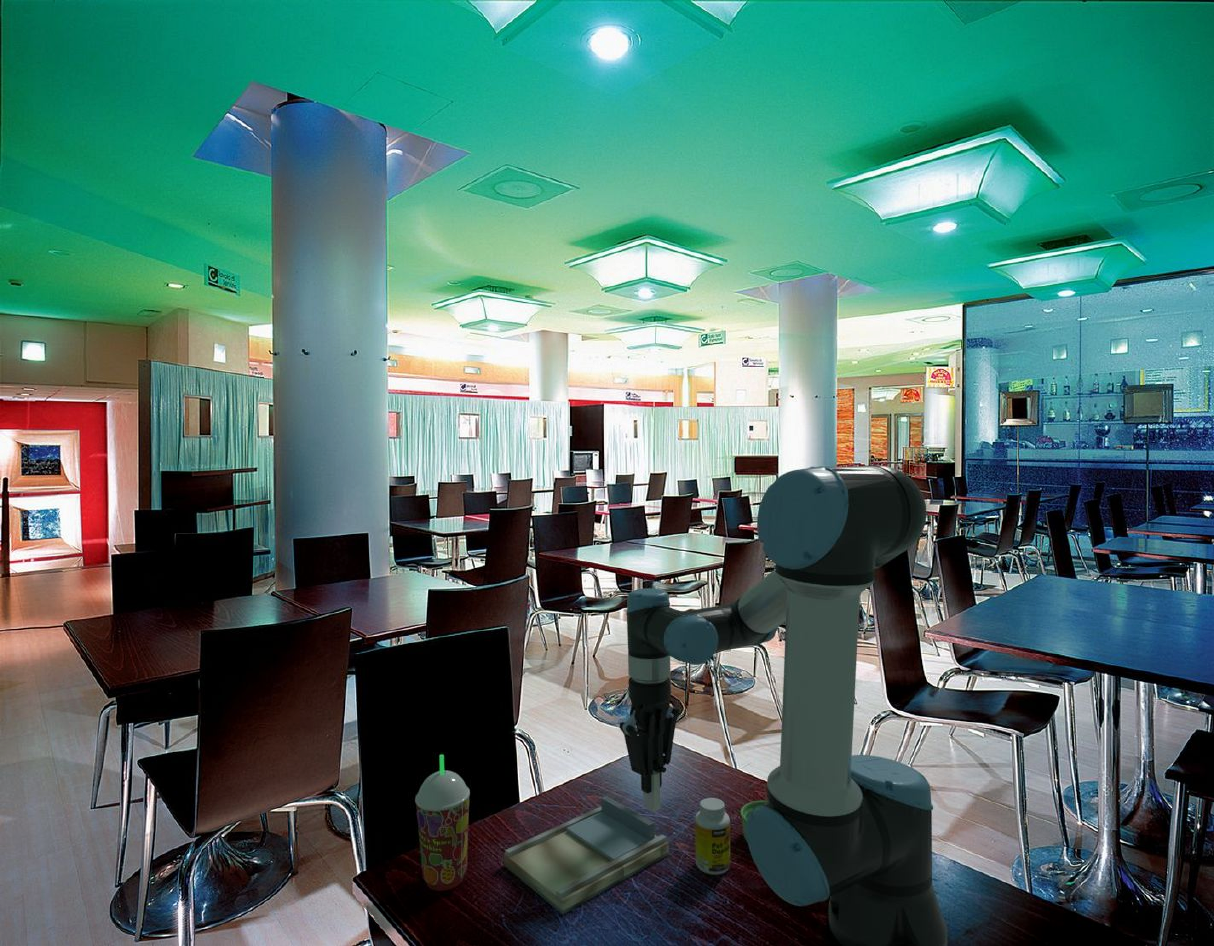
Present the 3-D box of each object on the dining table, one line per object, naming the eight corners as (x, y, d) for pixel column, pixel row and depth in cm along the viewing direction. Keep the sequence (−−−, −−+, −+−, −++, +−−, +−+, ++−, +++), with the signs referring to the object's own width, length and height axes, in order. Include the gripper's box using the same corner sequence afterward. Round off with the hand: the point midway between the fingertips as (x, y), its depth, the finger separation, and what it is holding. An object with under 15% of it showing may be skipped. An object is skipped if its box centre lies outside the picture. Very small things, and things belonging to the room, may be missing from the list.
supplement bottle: (712, 880, 106) (710, 816, 106) (688, 863, 111) (687, 801, 111) (738, 868, 110) (737, 805, 109) (714, 851, 114) (713, 791, 114)
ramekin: (787, 859, 112) (787, 832, 112) (734, 845, 116) (733, 819, 116) (799, 831, 120) (799, 807, 120) (749, 819, 124) (748, 795, 124)
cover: (606, 812, 123) (606, 795, 123) (654, 840, 114) (654, 822, 114) (566, 830, 118) (566, 813, 118) (614, 862, 108) (613, 843, 108)
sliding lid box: (606, 816, 126) (606, 801, 126) (669, 854, 114) (668, 837, 114) (504, 865, 112) (503, 848, 112) (563, 914, 99) (562, 895, 99)
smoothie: (406, 890, 106) (402, 762, 105) (438, 860, 113) (435, 741, 113) (452, 902, 103) (448, 770, 102) (482, 870, 110) (478, 748, 110)
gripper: (660, 664, 129) (662, 787, 129) (607, 680, 120) (610, 812, 121) (690, 673, 123) (692, 802, 124) (636, 690, 115) (639, 829, 115)
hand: (652, 807), depth 122 cm, fingers closed
